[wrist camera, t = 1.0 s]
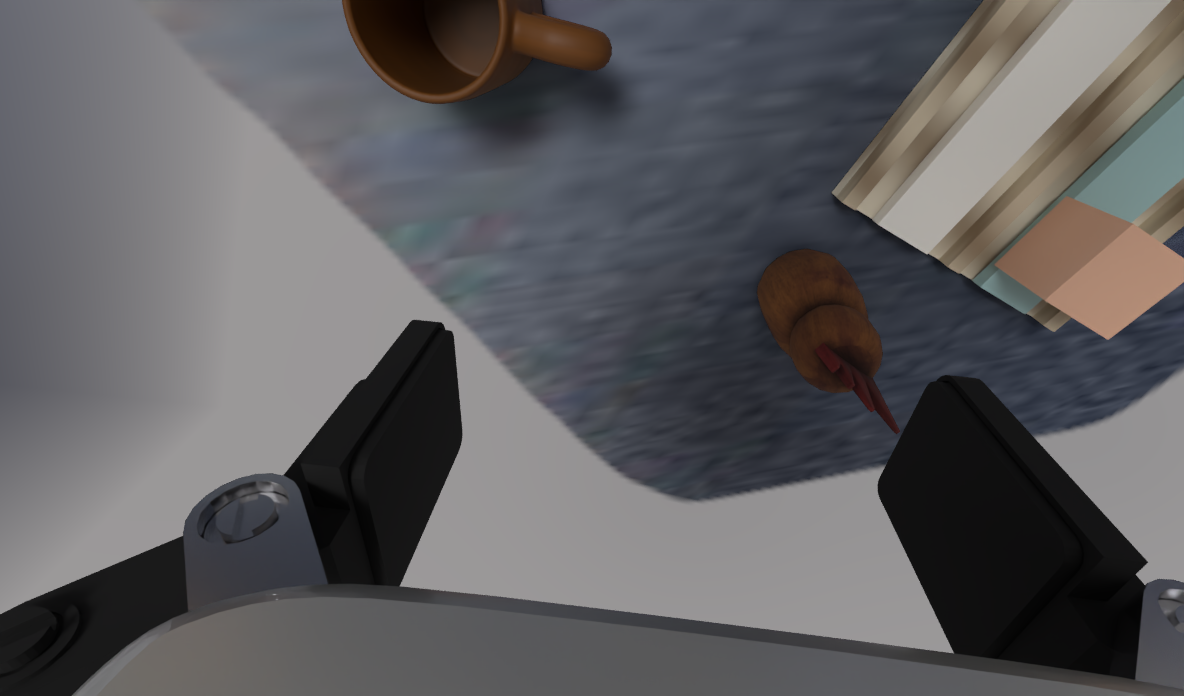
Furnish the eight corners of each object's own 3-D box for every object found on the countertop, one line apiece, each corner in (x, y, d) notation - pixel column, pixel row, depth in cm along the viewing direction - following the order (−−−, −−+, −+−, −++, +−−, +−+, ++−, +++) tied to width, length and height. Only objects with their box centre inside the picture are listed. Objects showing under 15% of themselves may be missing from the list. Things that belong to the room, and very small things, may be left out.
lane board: (1135, -192, 24) (1177, -211, 22) (1377, 23, 27) (1430, 23, 25) (831, 192, 34) (842, 202, 32) (1033, 316, 37) (1054, 332, 35)
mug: (634, -30, 29) (629, -49, 21) (604, 116, 33) (590, 147, 25) (419, -85, 28) (330, -127, 20) (415, 70, 32) (340, 86, 24)
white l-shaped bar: (1241, -228, 23) (1589, -373, 14) (1299, -171, 24) (1665, -279, 15) (866, 214, 34) (938, 277, 26) (913, 243, 35) (998, 314, 26)
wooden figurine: (852, 298, 38) (955, 438, 25) (775, 332, 40) (835, 478, 27) (818, 220, 35) (914, 332, 22) (737, 261, 37) (784, 385, 24)
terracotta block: (1066, 195, 31) (1133, 223, 26) (1125, 236, 32) (1200, 269, 27) (993, 264, 33) (1044, 300, 29) (1051, 300, 34) (1108, 339, 30)
